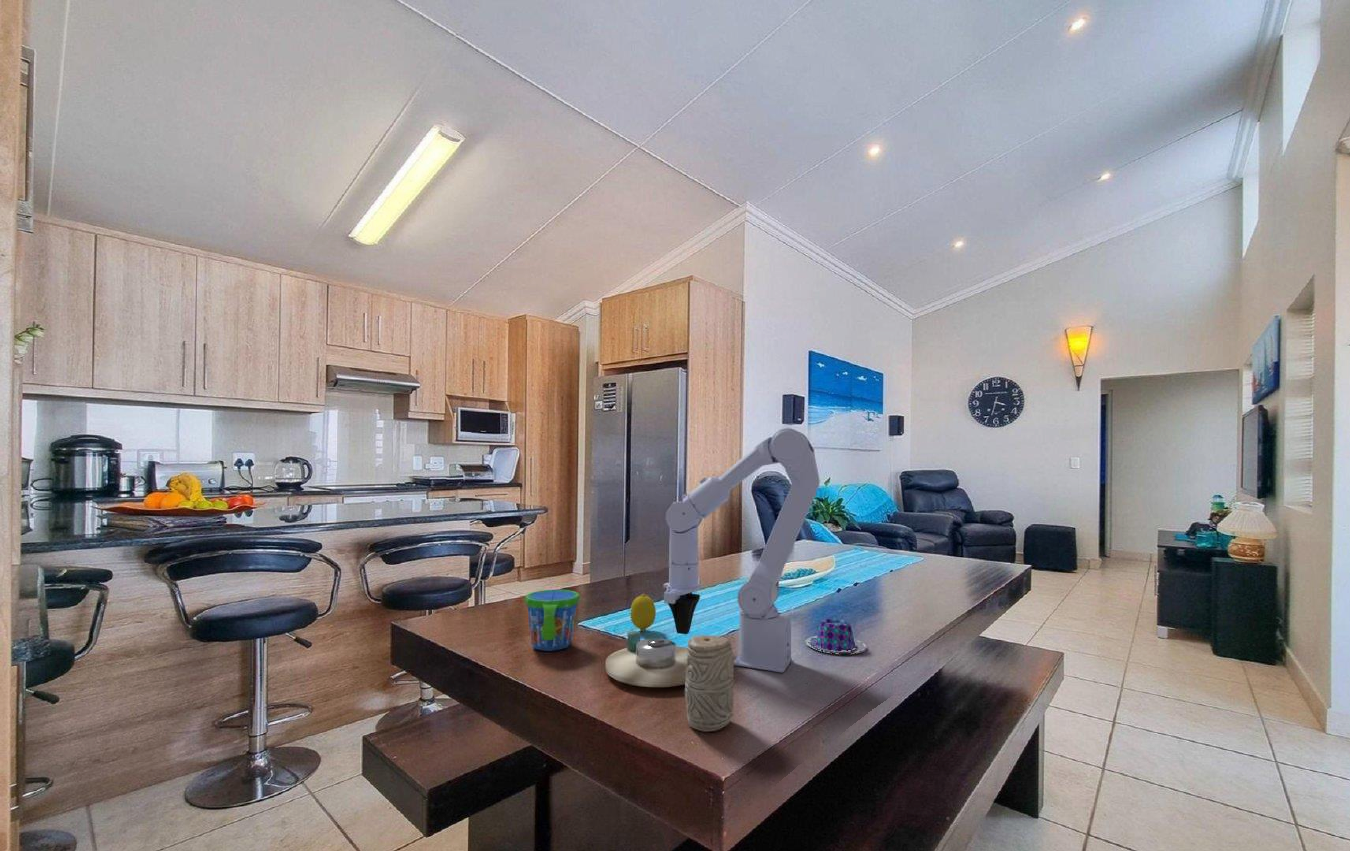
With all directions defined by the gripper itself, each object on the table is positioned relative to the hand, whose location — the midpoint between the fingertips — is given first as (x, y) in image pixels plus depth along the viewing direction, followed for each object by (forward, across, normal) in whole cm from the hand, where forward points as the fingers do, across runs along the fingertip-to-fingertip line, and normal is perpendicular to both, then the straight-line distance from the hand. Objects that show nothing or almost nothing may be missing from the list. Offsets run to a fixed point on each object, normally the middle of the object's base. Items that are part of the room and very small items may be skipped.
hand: (683, 633), depth 111 cm
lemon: (+4, -9, -13) cm, 16 cm away
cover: (+2, +13, 0) cm, 13 cm away
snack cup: (+4, +8, -25) cm, 27 cm away
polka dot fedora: (+4, -17, +27) cm, 32 cm away
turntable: (+4, +12, 0) cm, 13 cm away
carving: (+4, +27, +15) cm, 31 cm away
